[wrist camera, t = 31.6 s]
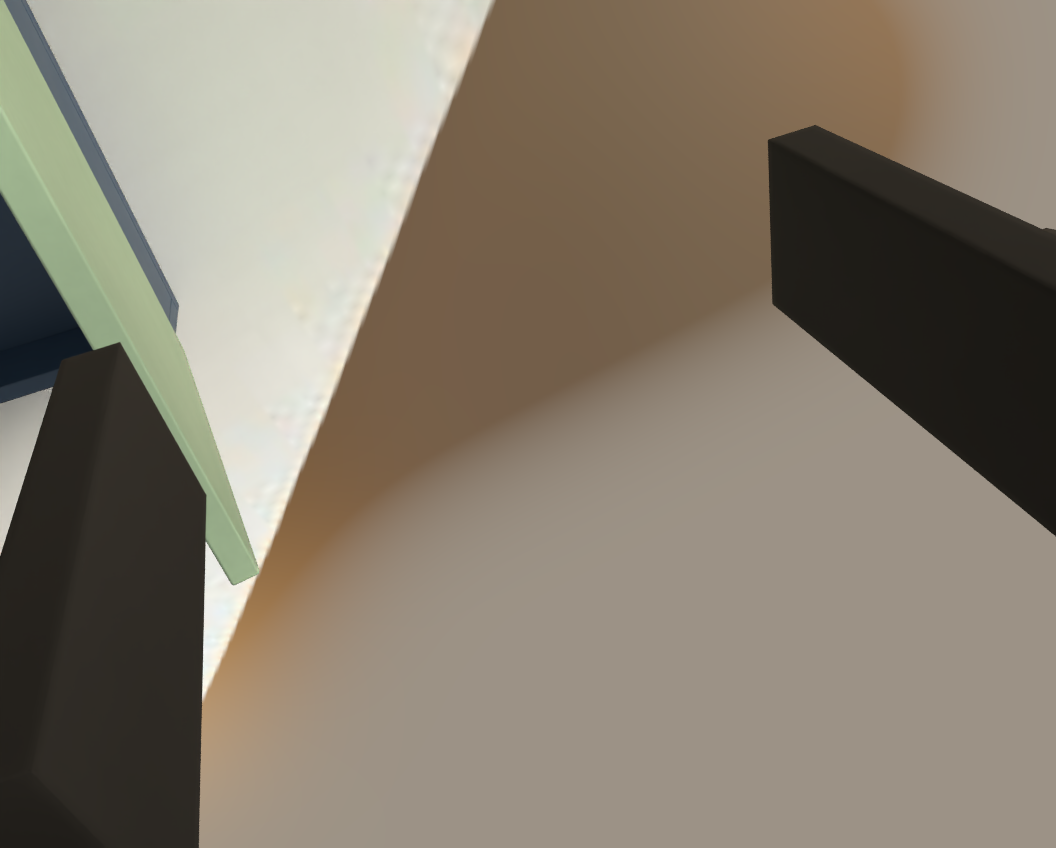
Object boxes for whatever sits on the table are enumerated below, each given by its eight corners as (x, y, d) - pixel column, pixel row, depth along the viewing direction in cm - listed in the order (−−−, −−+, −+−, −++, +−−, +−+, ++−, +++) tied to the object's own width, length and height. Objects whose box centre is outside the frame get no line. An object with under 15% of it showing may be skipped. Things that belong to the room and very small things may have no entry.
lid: (232, 587, 23) (260, 573, 24) (-322, -350, 12) (-258, -360, 12) (165, 357, 35) (184, 350, 35) (-148, -227, 24) (-117, -233, 24)
